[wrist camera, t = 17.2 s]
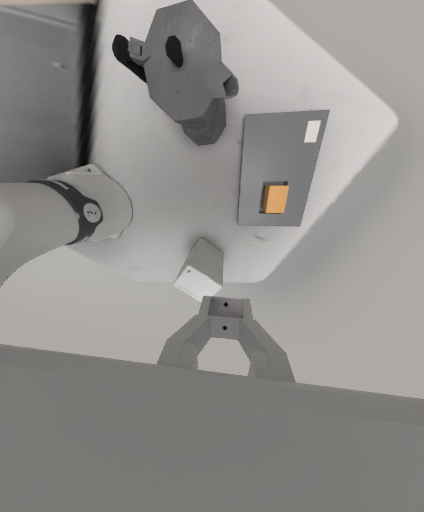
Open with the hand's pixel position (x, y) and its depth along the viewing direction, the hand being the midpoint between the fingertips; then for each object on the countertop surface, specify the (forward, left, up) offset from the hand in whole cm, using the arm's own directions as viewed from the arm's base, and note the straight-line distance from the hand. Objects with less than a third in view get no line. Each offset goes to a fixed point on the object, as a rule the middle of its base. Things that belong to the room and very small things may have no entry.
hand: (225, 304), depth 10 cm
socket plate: (+9, +8, -31) cm, 33 cm away
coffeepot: (-7, +19, -31) cm, 37 cm away
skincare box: (-6, -11, -31) cm, 34 cm away
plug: (+9, +4, -31) cm, 32 cm away
